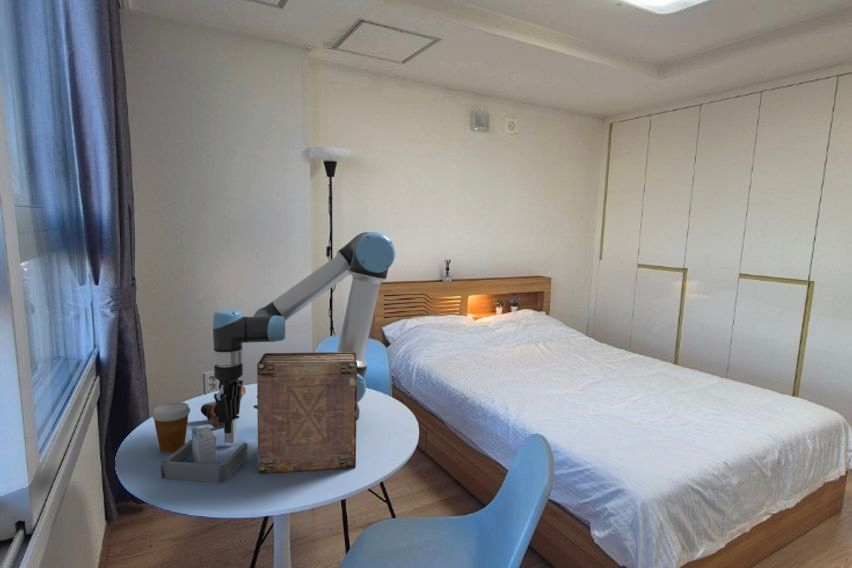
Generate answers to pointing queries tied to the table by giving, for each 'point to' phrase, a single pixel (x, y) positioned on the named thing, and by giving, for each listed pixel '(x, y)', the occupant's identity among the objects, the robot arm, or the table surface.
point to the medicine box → (204, 446)
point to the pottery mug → (211, 414)
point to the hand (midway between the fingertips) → (230, 441)
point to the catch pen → (200, 465)
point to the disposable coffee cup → (171, 425)
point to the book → (306, 411)
